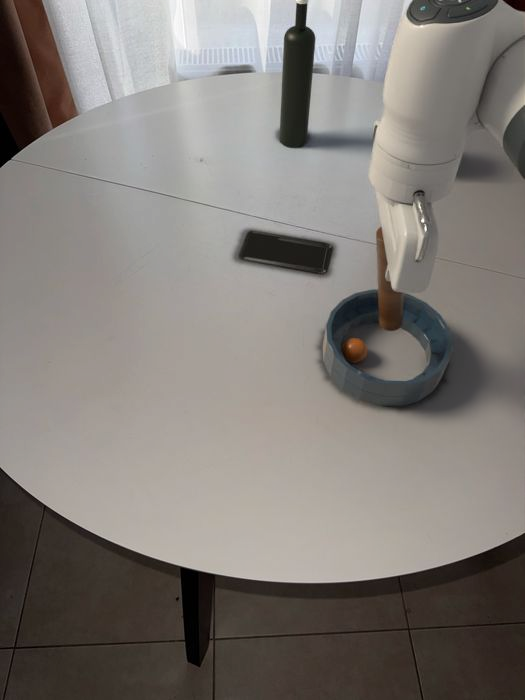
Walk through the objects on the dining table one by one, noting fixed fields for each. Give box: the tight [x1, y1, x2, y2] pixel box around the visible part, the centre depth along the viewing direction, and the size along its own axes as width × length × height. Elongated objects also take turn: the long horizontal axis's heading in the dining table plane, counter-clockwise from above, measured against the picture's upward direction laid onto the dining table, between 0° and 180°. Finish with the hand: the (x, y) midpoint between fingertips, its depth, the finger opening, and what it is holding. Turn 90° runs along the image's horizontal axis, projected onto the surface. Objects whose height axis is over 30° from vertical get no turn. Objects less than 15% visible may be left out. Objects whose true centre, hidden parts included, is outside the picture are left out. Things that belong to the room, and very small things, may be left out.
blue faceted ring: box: [322, 288, 454, 407], centre depth 83 cm, size 17×17×6 cm
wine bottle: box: [279, 0, 316, 149], centre depth 110 cm, size 6×6×30 cm
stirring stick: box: [375, 226, 405, 332], centre depth 73 cm, size 3×3×16 cm
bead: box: [341, 337, 368, 364], centre depth 83 cm, size 4×4×4 cm
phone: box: [237, 229, 333, 275], centre depth 99 cm, size 8×1×15 cm
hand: (389, 263), depth 71 cm, fingers closed on stirring stick, 3 cm apart
